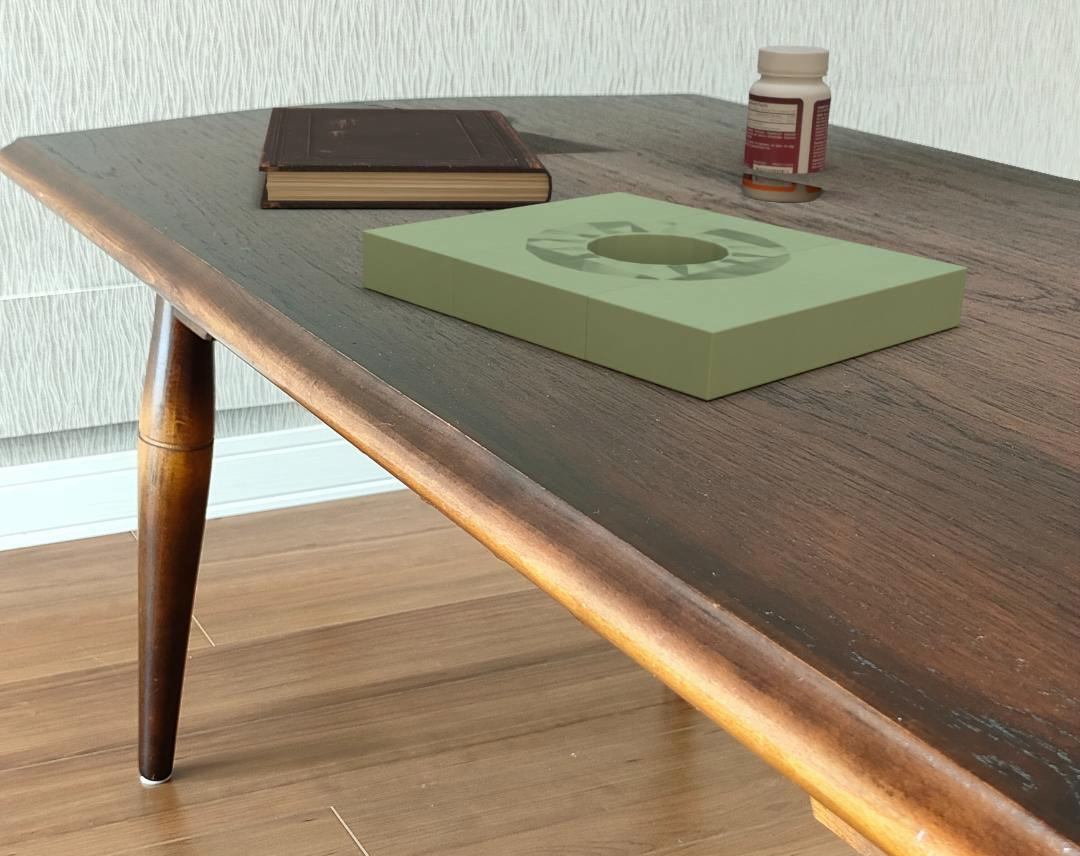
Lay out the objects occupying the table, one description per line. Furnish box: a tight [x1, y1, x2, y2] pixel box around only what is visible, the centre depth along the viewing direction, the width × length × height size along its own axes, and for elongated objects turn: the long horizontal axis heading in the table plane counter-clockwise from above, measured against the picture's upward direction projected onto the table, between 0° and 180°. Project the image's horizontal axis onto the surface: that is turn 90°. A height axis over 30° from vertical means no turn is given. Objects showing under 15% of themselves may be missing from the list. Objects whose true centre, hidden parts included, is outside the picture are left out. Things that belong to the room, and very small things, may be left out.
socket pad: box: [362, 191, 968, 401], centre depth 62 cm, size 20×16×2 cm
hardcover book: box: [258, 107, 553, 209], centre depth 90 cm, size 16×23×2 cm
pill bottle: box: [741, 45, 832, 203], centre depth 85 cm, size 5×5×8 cm
